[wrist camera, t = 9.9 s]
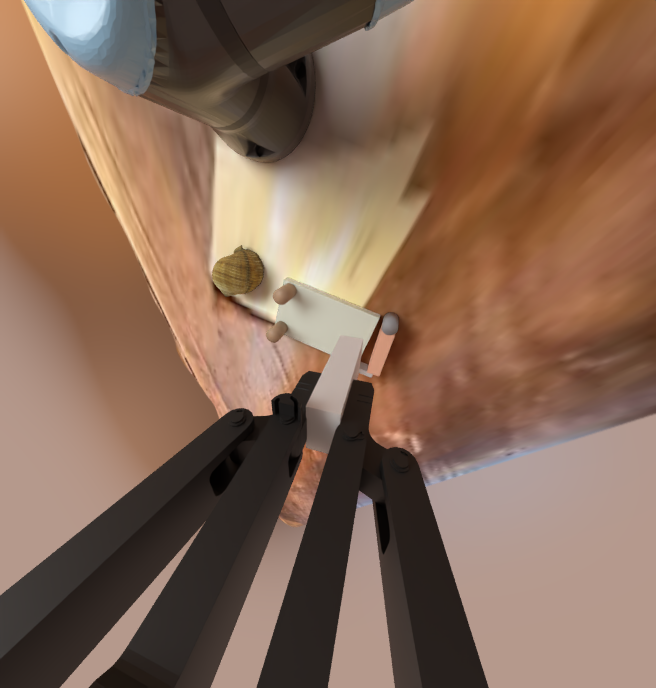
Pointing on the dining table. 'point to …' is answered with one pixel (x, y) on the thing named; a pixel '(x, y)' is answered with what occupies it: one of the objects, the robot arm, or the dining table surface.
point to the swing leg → (383, 343)
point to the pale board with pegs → (319, 318)
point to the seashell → (238, 272)
